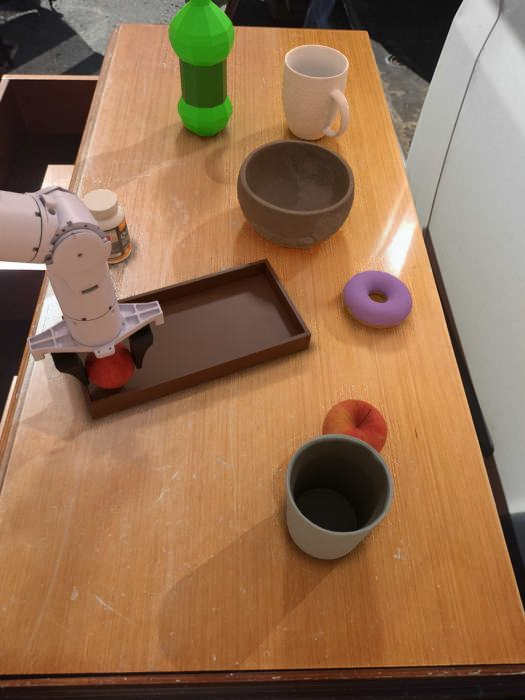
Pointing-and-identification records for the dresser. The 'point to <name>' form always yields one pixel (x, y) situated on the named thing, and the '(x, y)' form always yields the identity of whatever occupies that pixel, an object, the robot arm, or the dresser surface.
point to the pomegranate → (110, 368)
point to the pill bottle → (110, 222)
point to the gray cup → (335, 494)
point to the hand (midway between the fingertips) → (111, 370)
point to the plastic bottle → (203, 65)
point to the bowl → (295, 192)
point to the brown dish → (207, 334)
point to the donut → (374, 312)
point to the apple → (357, 422)
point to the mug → (315, 91)
